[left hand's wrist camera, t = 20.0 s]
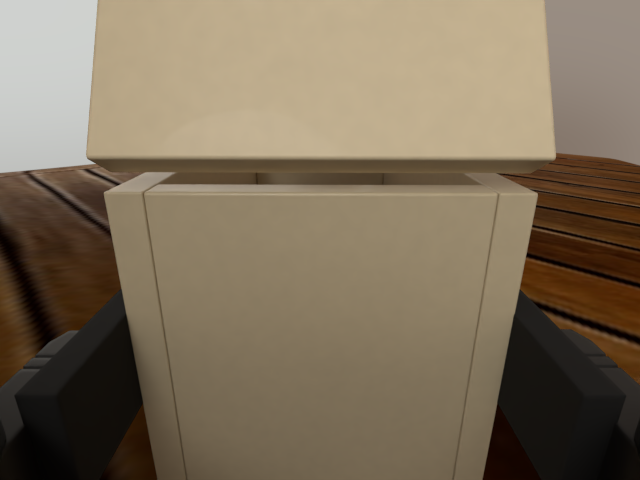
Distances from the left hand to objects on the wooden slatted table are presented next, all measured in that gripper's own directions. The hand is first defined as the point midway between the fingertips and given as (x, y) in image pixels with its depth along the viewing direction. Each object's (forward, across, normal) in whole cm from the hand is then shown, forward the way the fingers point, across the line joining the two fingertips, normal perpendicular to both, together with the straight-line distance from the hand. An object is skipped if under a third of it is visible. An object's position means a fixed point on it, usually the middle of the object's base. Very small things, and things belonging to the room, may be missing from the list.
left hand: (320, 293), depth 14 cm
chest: (+5, 0, -7) cm, 8 cm away
